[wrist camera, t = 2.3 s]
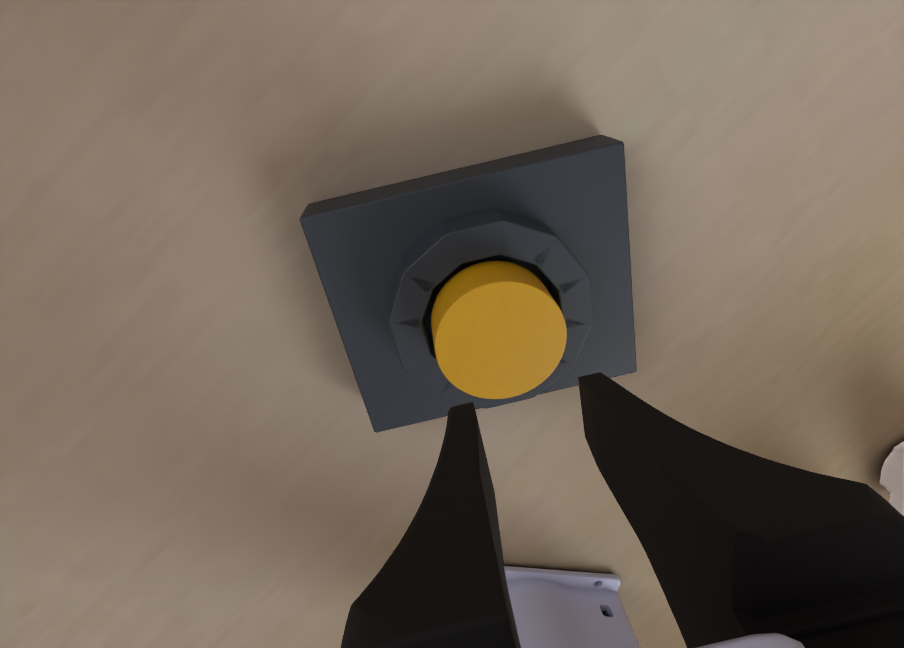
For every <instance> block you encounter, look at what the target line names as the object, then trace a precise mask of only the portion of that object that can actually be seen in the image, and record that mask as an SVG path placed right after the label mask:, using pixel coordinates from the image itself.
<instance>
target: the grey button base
mask: <svg viewBox="0 0 904 648" xmlns="http://www.w3.org/2000/svg"><path fill="white" fill-rule="evenodd" d="M300 222H301V225H302V228H303V231H304V234H305V236H306V239H307V242H308V245H309V248H310V251H311V253H312V256H313V259H314V262H315V265H316V268H317V270H318V273H319V276H320V279H321V282H322V285H323V287H324V290H325V293H326V296H327V299H328V302H329V304H330V307H331V310H332V313H333V316H334V319H335V321H336V324H337V327H338V330H339V333H340V336H341V338H342V341H343V344H344V347H345V350H346V353H347V355H348V358H349V361H350V364H351V367H352V370H353V372H354V375H355V378H356V381H357V384H358V387H359V389H360V392H361V395H362V398H363V401H364V404H365V407H366V409H367V412H368V415H369V418H370V421H371V424H372V426H373V429H374V431H375V432H380V431H385V430H389V429H393V428H398V427H402V426H406V425H410V424H415V423H419V422H423V421H427V420H432V419H436V418H440V417H445V416H448V411H449V409H450V408H451V407H453V406H457V405H461V404H466V403H470V402H473V403H474V407H475V409H479V408H491V407H495V406H500V405H504V404H508V403H512V402H517V401H521V400H525V399H529V398H533V397H535V396H536V395H539V394H543V393H547V392H551V391H556V390H560V389H564V388H569V387H573V386H577V385H579V381H578V377H581V376H585V375H590V374H594V373H598V372H601V373H603V374H604V375H606V376H607V377H609V378H611V377H616V376H620V375H624V374H628V373H633V372H636V352H635V334H634V317H633V299H632V281H631V263H630V245H629V228H628V210H627V192H626V174H625V156H624V143H623V142H622V141H619V140H616V139H613V138H610V137H607V136H604V135H599V136H594V137H590V138H586V139H582V140H577V141H573V142H569V143H565V144H560V145H556V146H552V147H548V148H544V149H539V150H535V151H531V152H527V153H522V154H518V155H514V156H510V157H505V158H501V159H497V160H493V161H489V162H484V163H480V164H476V165H472V166H467V167H463V168H459V169H455V170H450V171H446V172H442V173H438V174H434V175H429V176H425V177H421V178H417V179H412V180H408V181H404V182H400V183H395V184H391V185H387V186H383V187H378V188H374V189H370V190H366V191H362V192H357V193H353V194H349V195H345V196H340V197H336V198H332V199H328V200H323V201H319V202H315V203H311V204H309V205H308V206H307V207H306V209H305V211H304V212H303V214H302V215H301V217H300ZM487 261H506V262H511V263H515V264H517V265H520V266H522V267H524V268H526V269H528V270H529V271H531V272H532V273H534V274H535V275H536V276H537V277H538V278H539V279H540V280H541V282H542V283H543V284H544V286H545V287H546V289H547V290H548V292H549V293H550V295H551V296H552V297H553V299H554V300H555V302H556V303H557V305H558V306H559V308H560V310H561V312H562V314H563V316H564V319H565V323H566V328H567V339H566V346H565V350H564V353H563V356H562V358H561V360H560V362H559V364H558V365H557V367H556V368H555V370H554V371H553V372H552V373H551V375H550V376H549V377H548V378H547V379H546V380H544V381H543V382H542V383H541V384H539V385H538V386H537V387H535V388H533V389H532V390H530V391H528V392H526V393H523V394H521V395H518V396H514V397H510V398H505V399H485V398H479V397H476V396H472V395H470V394H467V393H465V392H463V391H462V390H460V389H458V388H457V387H456V386H454V385H453V384H452V383H451V382H450V381H449V380H448V379H447V378H446V377H445V375H444V374H443V373H442V371H441V369H440V367H439V365H438V362H437V359H436V354H435V348H434V341H433V334H432V327H431V314H432V308H433V305H434V302H435V299H436V297H437V295H438V293H439V292H440V290H441V289H442V287H443V286H444V285H445V284H446V283H447V282H448V281H449V280H450V279H451V278H452V277H453V276H454V275H455V274H457V273H458V272H460V271H461V270H463V269H465V268H467V267H469V266H472V265H474V264H478V263H481V262H487Z"/></svg>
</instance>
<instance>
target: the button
mask: <svg viewBox="0 0 904 648" xmlns="http://www.w3.org/2000/svg"><path fill="white" fill-rule="evenodd" d="M431 327H432V334H433V341H434V348H435V354H436V359H437V362H438V365H439V367H440V369H441V371H442V373H443V374H444V375H445V377H446V378H447V379H448V380H449V381H450V382H451V383H452V384H453V385H454V386H456V387H457V388H458V389H460V390H462V391H463V392H465V393H467V394H470V395H472V396H476V397H479V398H485V399H505V398H510V397H514V396H518V395H521V394H523V393H526V392H528V391H530V390H532V389H533V388H535V387H537V386H538V385H539V384H541V383H542V382H543V381H544V380H546V379H547V378H548V377H549V376H550V375H551V373H552V372H553V371H554V370H555V368H556V367H557V365H558V364H559V362H560V360H561V358H562V356H563V353H564V350H565V346H566V339H567V328H566V323H565V319H564V316H563V314H562V312H561V310H560V308H559V306H558V305H557V303H556V302H555V300H554V299H553V297H552V296H551V295H550V293H549V292H548V290H547V289H546V287H545V286H544V284H543V283H542V282H541V280H540V279H539V278H538V277H537V276H536V275H535V274H534V273H532V272H531V271H529V270H528V269H526V268H524V267H522V266H520V265H517V264H515V263H511V262H506V261H487V262H481V263H478V264H474V265H472V266H469V267H467V268H465V269H463V270H461V271H460V272H458V273H457V274H455V275H454V276H453V277H452V278H451V279H450V280H449V281H448V282H447V283H446V284H445V285H444V286H443V287H442V289H441V290H440V292H439V293H438V295H437V297H436V299H435V302H434V305H433V308H432V314H431Z"/></svg>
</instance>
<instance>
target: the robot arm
mask: <svg viewBox="0 0 904 648" xmlns="http://www.w3.org/2000/svg"><path fill="white" fill-rule="evenodd" d="M578 381H579V389H580V398H581V406H582V415H583V423H584V432H585V437H586V440H587V442H588V445H589V447H590V450H591V452H592V455H593V457H594V459H595V462H596V464H597V466H598V469H599V470H600V472H601V474H602V476H603V477H604V479H605V481H606V483H607V484H608V486H609V488H610V490H611V491H612V493H613V495H614V497H615V498H616V500H617V502H618V504H619V505H620V507H621V509H622V511H623V512H624V514H625V516H626V517H627V519H628V521H629V523H630V524H631V526H632V528H633V530H634V531H635V533H636V535H637V537H638V538H639V540H640V542H641V544H642V546H643V548H644V550H645V552H646V554H647V556H648V558H649V561H650V563H651V565H652V567H653V569H654V572H655V574H656V576H657V578H658V580H659V583H660V585H661V587H662V589H663V592H664V594H665V596H666V599H667V601H668V603H669V606H670V608H671V610H672V613H673V615H674V617H675V619H676V622H677V624H678V626H679V629H680V631H681V634H682V636H683V638H684V641H685V643H686V646H687V648H904V516H903V515H902V514H901V513H900V512H898V511H897V510H896V509H895V508H894V507H893V506H892V505H891V504H890V503H889V502H888V501H887V500H885V499H884V498H883V497H882V496H880V495H879V494H878V493H877V492H876V491H874V490H873V489H872V488H870V487H869V486H868V485H867V484H864V483H859V482H855V481H850V480H845V479H841V478H836V477H831V476H827V475H822V474H818V473H813V472H810V471H806V470H802V469H799V468H795V467H791V466H788V465H784V464H781V463H778V462H775V461H771V460H768V459H765V458H762V457H759V456H756V455H754V454H751V453H748V452H745V451H742V450H740V449H737V448H734V447H732V446H729V445H727V444H724V443H722V442H720V441H718V440H715V439H713V438H711V437H709V436H706V435H704V434H702V433H700V432H698V431H695V430H693V429H691V428H689V427H687V426H686V425H684V424H682V423H680V422H678V421H676V420H674V419H673V418H671V417H669V416H667V415H665V414H664V413H662V412H660V411H659V410H657V409H655V408H654V407H652V406H651V405H649V404H647V403H646V402H644V401H643V400H641V399H640V398H638V397H636V396H635V395H633V394H632V393H630V392H629V391H628V390H626V389H625V388H623V387H622V386H620V385H619V384H617V383H616V382H614V381H613V380H611V379H610V378H609V377H607V376H606V375H604V374H603V373H601V372H598V373H594V374H590V375H585V376H581V377H578ZM620 584H621V582H620V579H619V577H618V576H617V575H614V574H603V573H590V572H577V571H564V570H551V569H538V568H525V567H512V566H504V562H503V555H502V547H501V539H500V531H499V523H498V516H497V508H496V500H495V493H494V488H493V484H492V480H491V476H490V471H489V467H488V463H487V458H486V454H485V450H484V446H483V441H482V437H481V433H480V429H479V424H478V420H477V416H476V412H475V407H474V403H473V402H470V403H466V404H461V405H457V406H453V407H451V408H450V409H449V411H448V420H447V427H446V432H445V436H444V441H443V445H442V448H441V452H440V455H439V459H438V462H437V465H436V468H435V470H434V473H433V476H432V479H431V481H430V484H429V487H428V489H427V491H426V494H425V496H424V498H423V500H422V503H421V505H420V507H419V509H418V511H417V513H416V515H415V517H414V518H413V520H412V522H411V524H410V526H409V527H408V529H407V531H406V533H405V534H404V536H403V538H402V539H401V541H400V543H399V544H398V546H397V547H396V549H395V550H394V551H393V553H392V554H391V556H390V557H389V559H388V560H387V562H386V563H385V564H384V566H383V567H382V569H381V570H380V571H379V573H378V574H377V575H376V577H375V578H374V579H373V580H372V582H371V583H370V584H369V585H368V586H367V587H366V589H365V590H364V591H363V592H362V593H361V595H360V596H359V597H358V598H357V599H356V600H355V601H354V603H353V604H352V605H351V608H350V611H349V614H348V618H347V622H346V626H345V630H344V635H343V639H342V644H341V648H640V646H639V643H638V641H637V639H636V636H635V634H634V631H633V629H632V627H631V624H630V622H629V620H628V617H627V615H626V613H625V610H624V608H623V605H622V603H621V601H620V598H619V596H618V594H617V590H618V588H619V586H620Z"/></svg>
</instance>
